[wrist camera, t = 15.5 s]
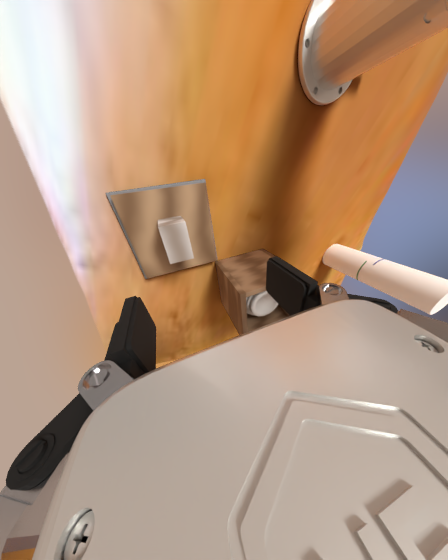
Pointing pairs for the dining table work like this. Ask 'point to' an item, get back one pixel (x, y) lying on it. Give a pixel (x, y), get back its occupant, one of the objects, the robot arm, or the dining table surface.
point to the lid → (168, 227)
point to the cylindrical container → (390, 278)
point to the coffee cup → (260, 304)
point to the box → (245, 288)
